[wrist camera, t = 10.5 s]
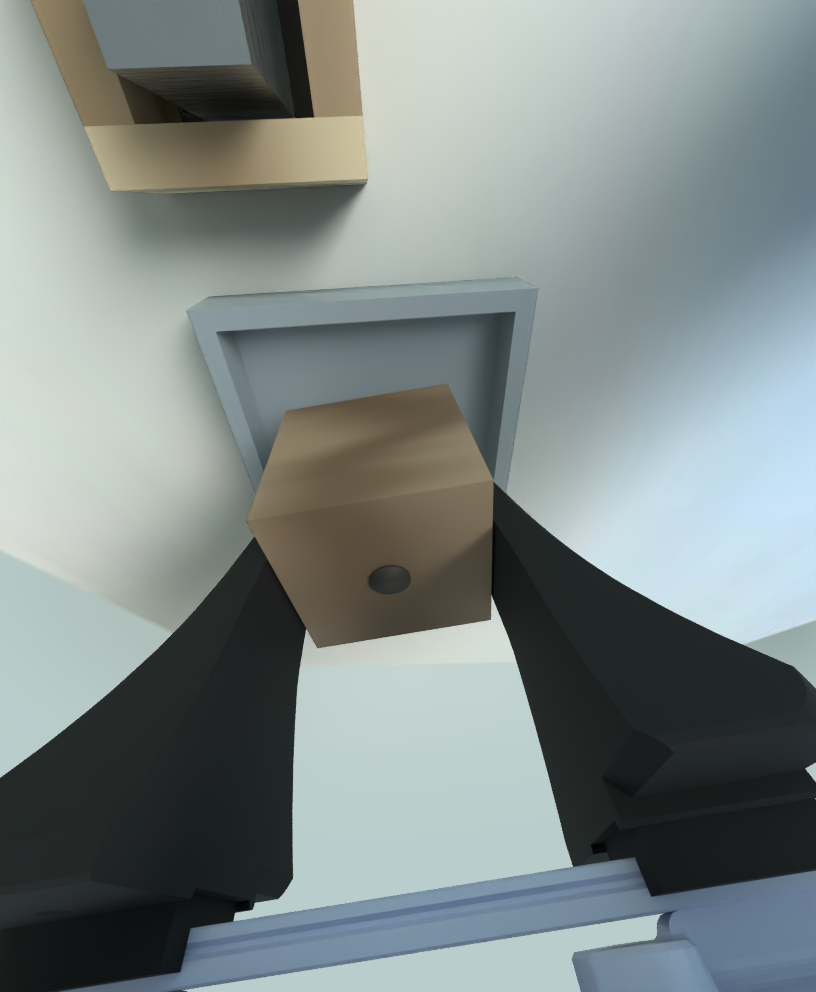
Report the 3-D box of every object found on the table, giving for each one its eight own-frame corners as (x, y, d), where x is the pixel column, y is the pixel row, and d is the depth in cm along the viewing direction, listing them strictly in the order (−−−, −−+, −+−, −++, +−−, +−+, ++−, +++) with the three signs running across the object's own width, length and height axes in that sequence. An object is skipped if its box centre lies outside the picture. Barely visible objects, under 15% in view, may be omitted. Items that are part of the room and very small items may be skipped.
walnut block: (447, 383, 11) (494, 482, 7) (455, 506, 14) (491, 622, 10) (285, 410, 11) (245, 523, 7) (329, 527, 14) (317, 650, 10)
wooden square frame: (334, -193, 7) (321, -383, 5) (366, 184, 11) (367, 178, 8) (32, -194, 7) (-136, -397, 5) (167, 193, 10) (110, 190, 8)
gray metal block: (273, -19, 8) (195, -211, 4) (295, 119, 10) (251, 65, 6) (173, -16, 8) (6, -210, 4) (211, 123, 10) (108, 69, 6)
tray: (516, 277, 13) (538, 287, 11) (488, 506, 19) (499, 534, 17) (209, 296, 12) (185, 310, 10) (286, 525, 18) (278, 556, 17)
